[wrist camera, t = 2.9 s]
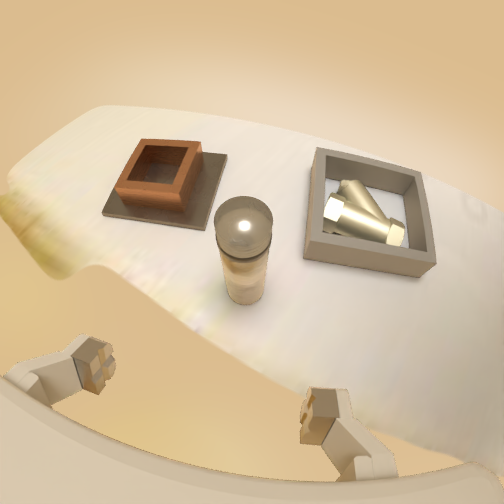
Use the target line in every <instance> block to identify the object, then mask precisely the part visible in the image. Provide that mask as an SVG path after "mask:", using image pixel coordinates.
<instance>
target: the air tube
mask: <svg viewBox="0 0 504 504" xmlns="http://www.w3.org/2000/svg"><path fill="white" fill-rule="evenodd" d="M272 225H273V217H272V213H271V211H270V209H269V208H268V206H267V205H266V204H265V203H263V202H262V201H260V200H258V199H256V198H253V197H249V196H239V197H234V198H231V199H229V200H227V201H225V202H224V203H223V204H222V205H221V206H220V207H219V208H218V209H217V211H216V213H215V217H214V226H215V231H216V241H217V245H218V248H219V252H220V257H221V261H222V266H223V271H224V276H225V281H226V286H227V290H228V294H229V296H230V298H231V299H232V300H233V301H234V302H236V303H238V304H241V305H250V304H253V303H255V302H257V301H258V300H259V299H260V298H261V296H262V294H263V290H264V283H265V276H266V269H267V262H268V255H269V248H270V245H271V239H272Z"/></svg>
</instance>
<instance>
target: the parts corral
mask: <svg viewBox="0 0 504 504" xmlns="http://www.w3.org/2000/svg"><path fill="white" fill-rule="evenodd" d="M325 178H329V179H335V180H340V181H342V180H351V181H352V180H359V181H361V182H362V184H363V185H364V186H368V187H372V188H376V189H381V190H385V191H389V192H393V193H397V194H401V195H403V198H404V205H405V212H406V220H407V229H408V238H409V248H404V247H399V246H394V245H389V244H384V243H379V242H373V241H368V240H363V239H357V238H352V237H347V236H341V235H336V234H330V233H324V232H323V216H324V196H325ZM303 259H309V260H315V261H321V262H327V263H333V264H340V265H346V266H352V267H358V268H364V269H370V270H376V271H382V272H388V273H394V274H400V275H406V276H412V277H418V278H420V277H421V276H422V275H423V274H424V273H426V272H427V271H428V270H429V269H431V268H432V267H433V266H434V265H435V264H437V263H436V254H435V246H434V238H433V232H432V225H431V219H430V214H429V208H428V203H427V198H426V193H425V189H424V184H423V180H422V176H421V172H418V171H415V170H412V169H408V168H405V167H401V166H397V165H394V164H390V163H386V162H382V161H378V160H374V159H370V158H366V157H362V156H358V155H353V154H349V153H344V152H339V151H334V150H329V149H324V148H319V147H317V148H316V152H315V156H314V160H313V164H312V168H311V181H310V194H309V206H308V217H307V227H306V238H305V247H304V256H303Z"/></svg>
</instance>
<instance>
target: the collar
mask: <svg viewBox="0 0 504 504" xmlns="http://www.w3.org/2000/svg"><path fill="white" fill-rule="evenodd" d="M226 161H227V154H217V153H207V152H202V147H201V142H198V141H183V140H164V139H141V140H140V142H139V144H138V145H137V147H136V148H135V150H134V152H133V154H132V155H131V157H130V159H129V161H128V162H127V164H126V166H125V168H124V170H123V171H122V173H121V175H120V177H119V179H118V181H117V183H116V184H115V186H114V188H113V190H112V192H111V194H110V196H109V198H108V200H107V202H106V204H105V206H104V208H103V211H102V214H103V216H109V217H116V218H123V219H130V220H137V221H144V222H151V223H157V224H164V225H171V226H177V227H184V228H191V229H197V230H204V231H205V228H206V224H207V221H208V218H209V214H210V211H211V208H212V205H213V201H214V198H215V195H216V192H217V189H218V186H219V182H220V179H221V176H222V173H223V170H224V167H225V164H226Z"/></svg>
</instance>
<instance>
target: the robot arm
mask: <svg viewBox="0 0 504 504" xmlns="http://www.w3.org/2000/svg"><path fill="white" fill-rule="evenodd" d="M112 352H113V348H112V345H111V344H110V343H107V342H104V341H101V340H99V339H97V338H94V337H90V336H88V335H86V334H80V335H79V336H78V337H76V338H75V339H74V340H73V341H72V342H71V343H70V344H69V345H68V346H67V347H66V348H65V349H64V350H63V351H62V352H59V351H58V352H54V353H51V354H47V355H43V356H40V357H36V358H33V359H29V360H26V361H22V362H18V363H17V364H15V365H14V366H13V367H12V368H11V369H10V370H9V371H8V372H7V373H6V374H5V375H4V376H3V377H2V376H1V375H0V504H504V489H503V486H502V484H501V482H500V480H499V478H498V477H497V476H496V475H494V474H493V473H492V472H490V471H489V470H488V469H486V468H485V467H483V466H482V465H480V464H478V463H477V462H469V463H465V464H462V465H458V466H454V467H450V468H446V469H441V470H437V471H432V472H427V473H422V474H416V475H411V476H404V477H399V476H398V472H397V468H396V463H395V459H394V455H393V453H392V452H391V451H390V450H389V449H388V448H387V447H386V446H385V445H384V444H383V443H382V442H381V441H379V440H378V439H377V438H376V437H375V436H374V435H373V434H372V433H371V432H370V431H369V430H368V429H367V428H366V427H365V426H364V425H363V424H362V423H361V422H360V421H359V420H358V419H353V413H352V408H351V403H350V398H349V393H348V390H347V389H336V388H335V389H334V388H321V387H309V389H308V391H307V399H306V400H304V402H303V405H302V408H301V414H300V423H301V424H302V427H301V430H300V443H301V444H311V445H321V447H322V449H323V450H324V451H325V453H326V454H327V456H328V457H329V459H330V460H331V461H332V463H333V464H334V466H335V467H336V468H337V470H338V471H339V473H340V474H341V476H340V477H339V478H338V479H337V480H336V481H335V482H311V481H291V480H278V479H269V478H260V477H253V476H246V475H239V474H233V473H227V472H222V471H217V470H212V469H207V468H203V467H199V466H195V465H191V464H186V463H183V462H179V461H176V460H172V459H169V458H165V457H162V456H159V455H156V454H153V453H150V452H147V451H144V450H141V449H138V448H135V447H132V446H130V445H127V444H124V443H122V442H120V441H117V440H115V439H112V438H110V437H108V436H105V435H103V434H100V433H98V432H96V431H94V430H92V429H90V428H87V427H86V426H83V425H81V424H79V423H77V422H75V421H73V420H71V419H69V418H68V417H66V416H64V415H62V414H60V413H58V412H57V411H55V410H53V409H52V406H51V405H52V404H54V403H56V402H59V401H61V400H63V399H65V398H67V397H69V396H71V395H73V394H75V393H77V392H79V391H81V390H82V389H84V390H87V391H89V392H92V393H94V394H97V395H99V394H100V392H101V391H102V389H103V388H104V387H105V381H106V380H109V379H111V377H112V376H113V374H114V371H115V359H114V358H113V356H112V355H111V354H112Z"/></svg>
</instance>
